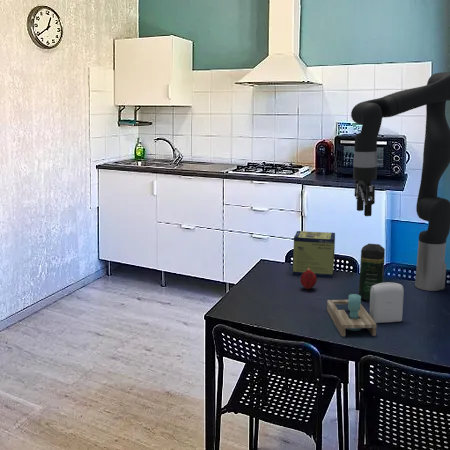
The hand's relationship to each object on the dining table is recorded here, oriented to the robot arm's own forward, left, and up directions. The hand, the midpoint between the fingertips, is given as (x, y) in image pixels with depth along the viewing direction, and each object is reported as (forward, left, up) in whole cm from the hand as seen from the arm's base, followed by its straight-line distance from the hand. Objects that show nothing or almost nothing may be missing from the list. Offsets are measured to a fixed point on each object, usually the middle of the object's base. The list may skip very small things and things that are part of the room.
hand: (363, 213), depth 184 cm
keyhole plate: (+9, +21, -30) cm, 38 cm away
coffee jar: (-4, 0, -30) cm, 30 cm away
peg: (+9, +25, -30) cm, 40 cm away
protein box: (+11, -28, -30) cm, 42 cm away
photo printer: (-2, +21, -30) cm, 36 cm away
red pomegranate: (+16, -9, -30) cm, 35 cm away
